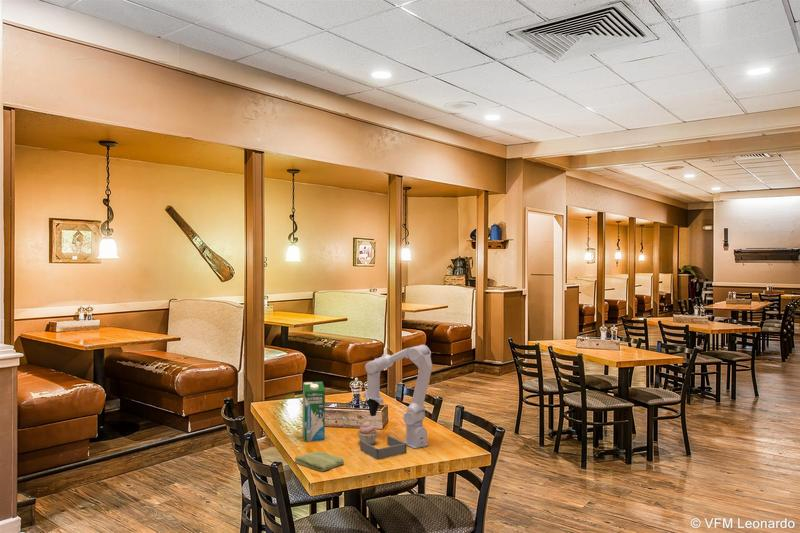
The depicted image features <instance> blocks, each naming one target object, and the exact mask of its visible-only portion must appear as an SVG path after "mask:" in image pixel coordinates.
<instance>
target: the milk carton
mask: <svg viewBox="0 0 800 533" xmlns="http://www.w3.org/2000/svg"><path fill="white" fill-rule="evenodd" d="M325 408H326V390H325V387H324V382H323V381H305V382H304V381H303V383H302V438H303V440H304V442H317V441H319V442H320V441H325V438H326V437H325V434H326V433H325V428H326V427H325V426H326V425H325V424H326V421H325V420H326V418H325V417H326V415H325V414H326V413H325V412H326V409H325Z"/></svg>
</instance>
